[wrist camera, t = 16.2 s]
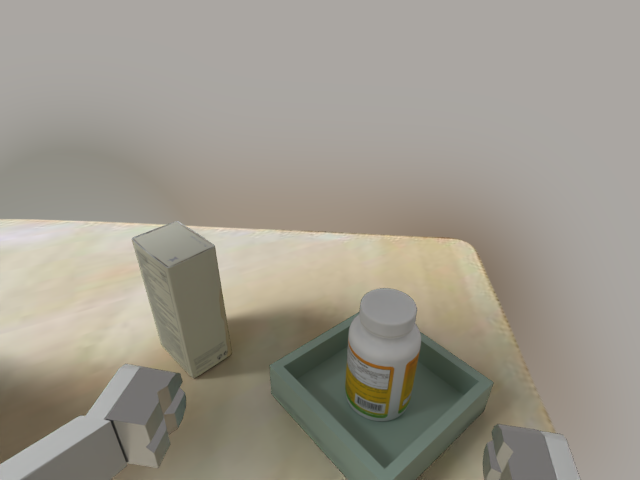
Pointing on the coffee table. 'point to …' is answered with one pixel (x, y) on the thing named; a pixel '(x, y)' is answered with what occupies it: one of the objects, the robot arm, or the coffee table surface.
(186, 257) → the skincare box
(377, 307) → the supplement bottle
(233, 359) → the coffee table surface
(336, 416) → the tray
